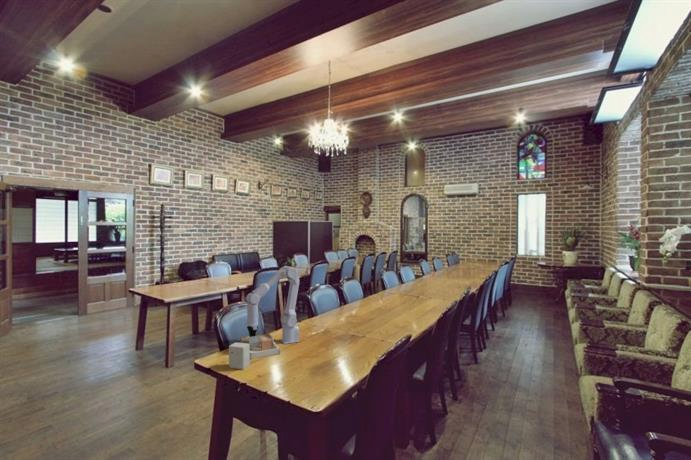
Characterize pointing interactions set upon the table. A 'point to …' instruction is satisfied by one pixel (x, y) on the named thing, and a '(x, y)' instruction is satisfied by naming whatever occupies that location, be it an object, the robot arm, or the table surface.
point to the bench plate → (260, 337)
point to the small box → (239, 355)
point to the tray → (264, 352)
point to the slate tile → (253, 341)
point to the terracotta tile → (266, 344)
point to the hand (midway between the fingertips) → (252, 339)
